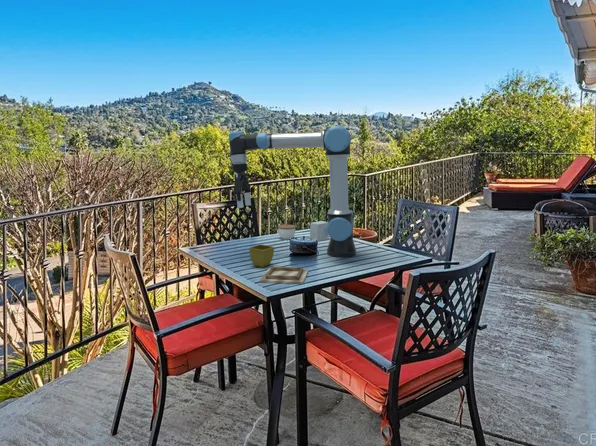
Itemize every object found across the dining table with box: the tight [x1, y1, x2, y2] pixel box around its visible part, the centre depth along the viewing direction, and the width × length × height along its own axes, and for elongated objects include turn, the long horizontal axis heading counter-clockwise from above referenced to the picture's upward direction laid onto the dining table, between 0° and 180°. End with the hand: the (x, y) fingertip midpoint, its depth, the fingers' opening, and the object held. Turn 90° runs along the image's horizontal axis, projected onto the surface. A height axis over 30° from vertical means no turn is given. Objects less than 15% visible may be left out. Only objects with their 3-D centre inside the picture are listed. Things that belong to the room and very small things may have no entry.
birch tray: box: [259, 266, 309, 285], centre depth 192 cm, size 18×18×2 cm
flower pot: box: [248, 244, 275, 268], centre depth 210 cm, size 9×9×9 cm
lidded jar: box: [277, 222, 296, 241], centre depth 272 cm, size 11×11×9 cm
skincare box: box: [309, 220, 330, 242], centre depth 269 cm, size 10×6×10 cm, turn 137°
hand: (244, 206), depth 222 cm, fingers open, 13 cm apart
